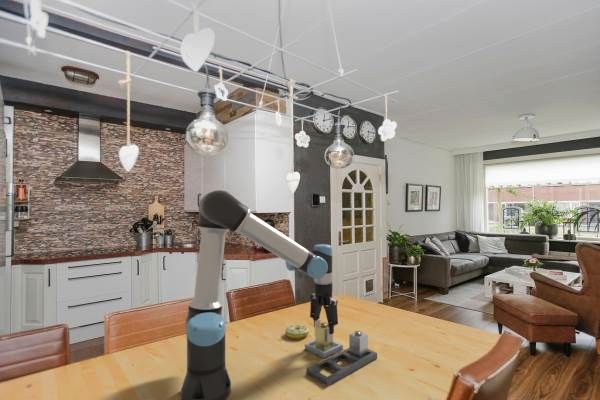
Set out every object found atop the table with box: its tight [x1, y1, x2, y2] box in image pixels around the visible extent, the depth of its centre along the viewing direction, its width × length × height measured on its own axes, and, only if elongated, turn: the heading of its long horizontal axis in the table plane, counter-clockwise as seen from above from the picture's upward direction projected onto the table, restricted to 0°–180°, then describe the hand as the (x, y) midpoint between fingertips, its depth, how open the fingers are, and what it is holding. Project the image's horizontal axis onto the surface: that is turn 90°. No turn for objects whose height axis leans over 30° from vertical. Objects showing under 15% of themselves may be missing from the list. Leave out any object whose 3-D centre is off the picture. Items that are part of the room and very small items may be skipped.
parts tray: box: [304, 339, 344, 360], centre depth 127 cm, size 11×11×2 cm
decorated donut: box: [284, 324, 310, 340], centre depth 141 cm, size 10×11×4 cm
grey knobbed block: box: [348, 330, 369, 359], centre depth 120 cm, size 5×5×10 cm
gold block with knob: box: [314, 322, 334, 352], centre depth 127 cm, size 5×5×10 cm
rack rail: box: [306, 347, 378, 387], centre depth 114 cm, size 28×10×2 cm, turn 132°
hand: (323, 338), depth 127 cm, fingers open, 6 cm apart
